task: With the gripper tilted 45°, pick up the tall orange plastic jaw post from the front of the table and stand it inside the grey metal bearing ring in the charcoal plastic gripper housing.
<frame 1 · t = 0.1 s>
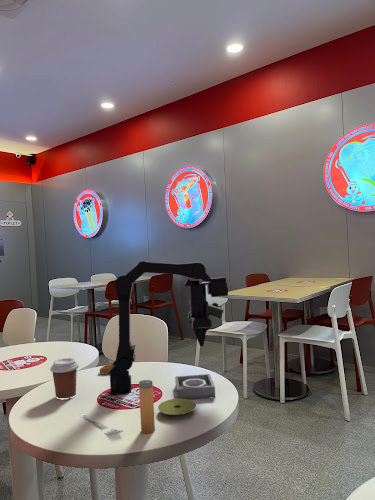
hand: (200, 342, 133), 15 cm above the table, tool pointing down, fingers open, 9 cm apart
housing: (194, 391, 127), on the table
olive green flat disc: (177, 413, 112), on the table
fork: (95, 425, 108), on the table
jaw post: (148, 430, 102), on the table
pastry: (113, 372, 152), on the table
coffee cup: (66, 397, 128), on the table
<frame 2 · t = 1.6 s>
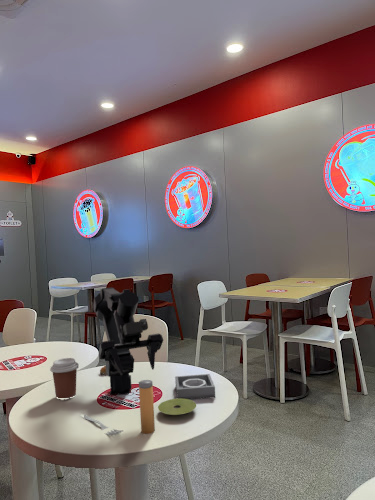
hand: (138, 371, 109), 13 cm above the table, tool tilted 45°, fingers open, 9 cm apart
nothing on the table moved.
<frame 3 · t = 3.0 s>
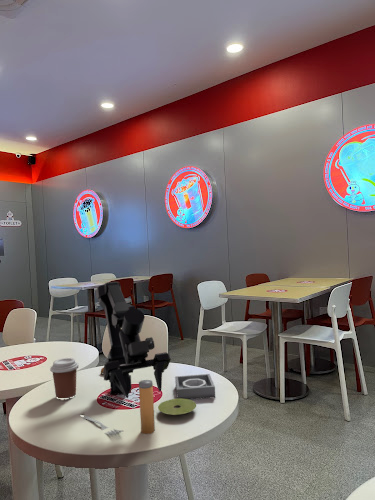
hand: (144, 393, 103), 9 cm above the table, tool tilted 45°, fingers open, 9 cm apart
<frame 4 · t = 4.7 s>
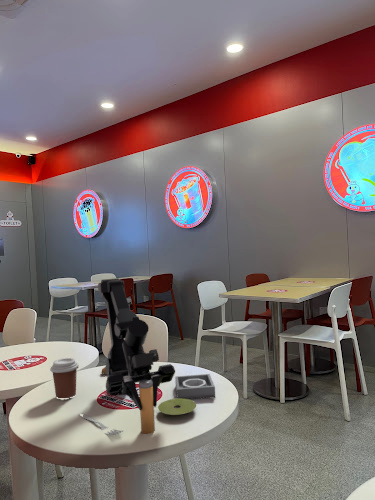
hand: (148, 408, 100), 7 cm above the table, tool tilted 45°, fingers closed on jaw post, 4 cm apart
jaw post: (148, 430, 102), on the table, touching gripper
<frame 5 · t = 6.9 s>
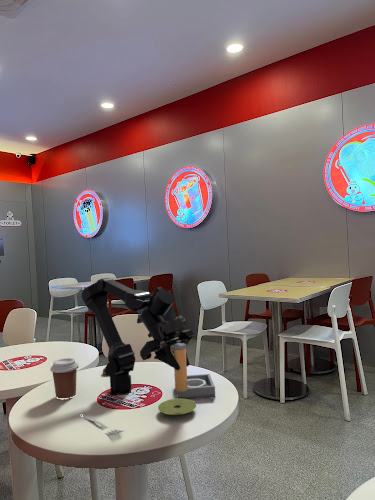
hand: (183, 367, 110), 14 cm above the table, tool tilted 45°, fingers closed on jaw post, 4 cm apart
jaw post: (181, 389, 111), point 7 cm above the table, touching gripper
when the fingers open (9 cm above the table, at t = 9.5 s): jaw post drops 1 cm, resting on housing.
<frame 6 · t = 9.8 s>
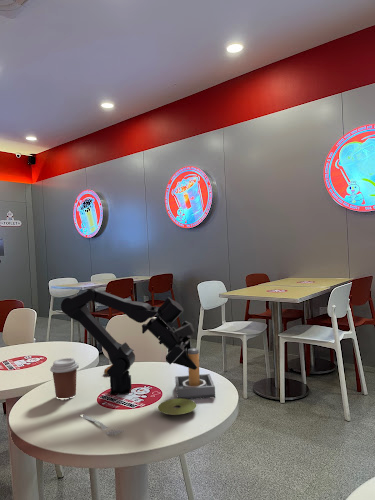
hand: (197, 365, 127), 9 cm above the table, tool tilted 45°, fingers open, 7 cm apart
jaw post: (194, 388, 127), point 1 cm above the table, touching housing
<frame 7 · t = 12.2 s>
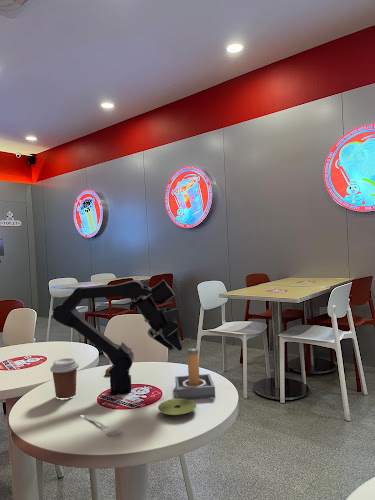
hand: (176, 349, 131), 13 cm above the table, tool tilted 30°, fingers open, 9 cm apart
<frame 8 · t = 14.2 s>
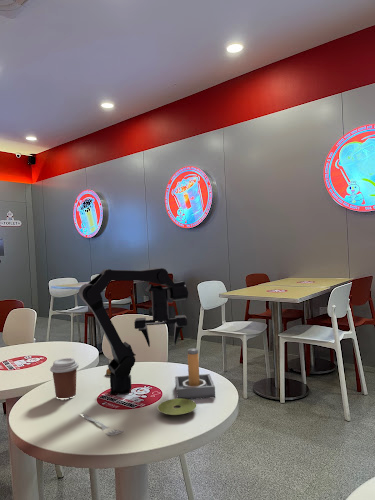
hand: (162, 345, 138), 13 cm above the table, tool pointing down, fingers open, 9 cm apart
at the end: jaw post 0.0 cm off-centre on the housing, point 1.0 cm above the housing's base; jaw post tilted 0°; the gripper is holding nothing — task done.
